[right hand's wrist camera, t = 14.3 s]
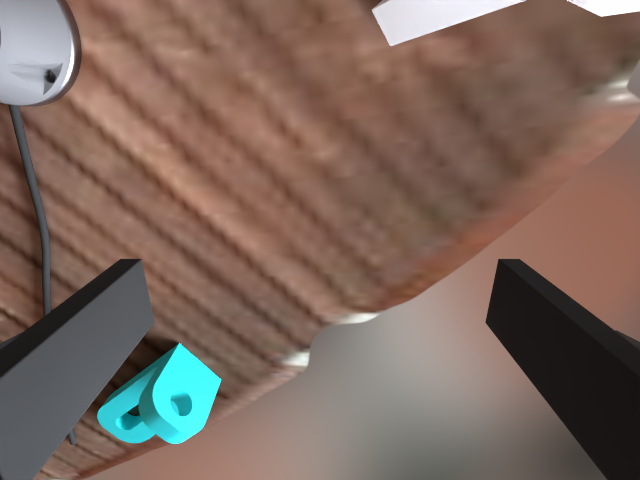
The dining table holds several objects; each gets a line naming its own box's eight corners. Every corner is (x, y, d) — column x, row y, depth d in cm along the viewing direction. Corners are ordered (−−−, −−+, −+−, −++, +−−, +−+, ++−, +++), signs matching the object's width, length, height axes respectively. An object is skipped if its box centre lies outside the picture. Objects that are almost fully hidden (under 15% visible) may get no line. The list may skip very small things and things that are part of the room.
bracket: (179, 343, 54) (143, 402, 43) (221, 379, 57) (197, 444, 46) (99, 402, 58) (47, 471, 47) (141, 434, 61) (101, 505, 50)
